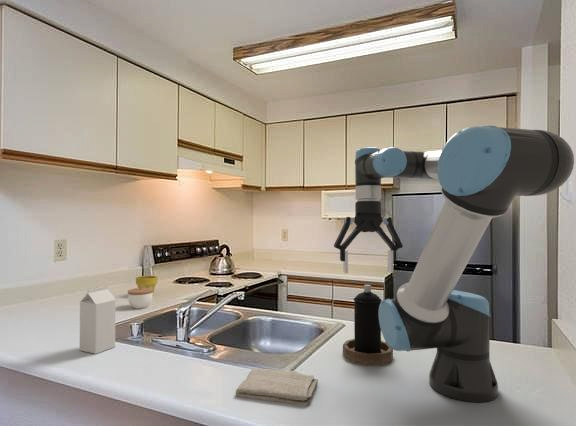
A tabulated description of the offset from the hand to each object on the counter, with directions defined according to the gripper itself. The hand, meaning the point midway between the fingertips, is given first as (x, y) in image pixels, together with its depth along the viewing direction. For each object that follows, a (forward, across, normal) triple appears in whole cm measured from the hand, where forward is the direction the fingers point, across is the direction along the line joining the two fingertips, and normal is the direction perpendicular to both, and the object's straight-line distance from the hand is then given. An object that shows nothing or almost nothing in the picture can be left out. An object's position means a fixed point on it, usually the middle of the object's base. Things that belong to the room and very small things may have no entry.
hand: (368, 272), depth 113 cm
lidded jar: (+24, +85, -66) cm, 111 cm away
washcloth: (+26, +28, +19) cm, 42 cm away
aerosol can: (+24, 0, 0) cm, 24 cm away
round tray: (+25, 0, 0) cm, 25 cm away
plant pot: (+24, +89, -90) cm, 129 cm away
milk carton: (+25, +82, -12) cm, 87 cm away
